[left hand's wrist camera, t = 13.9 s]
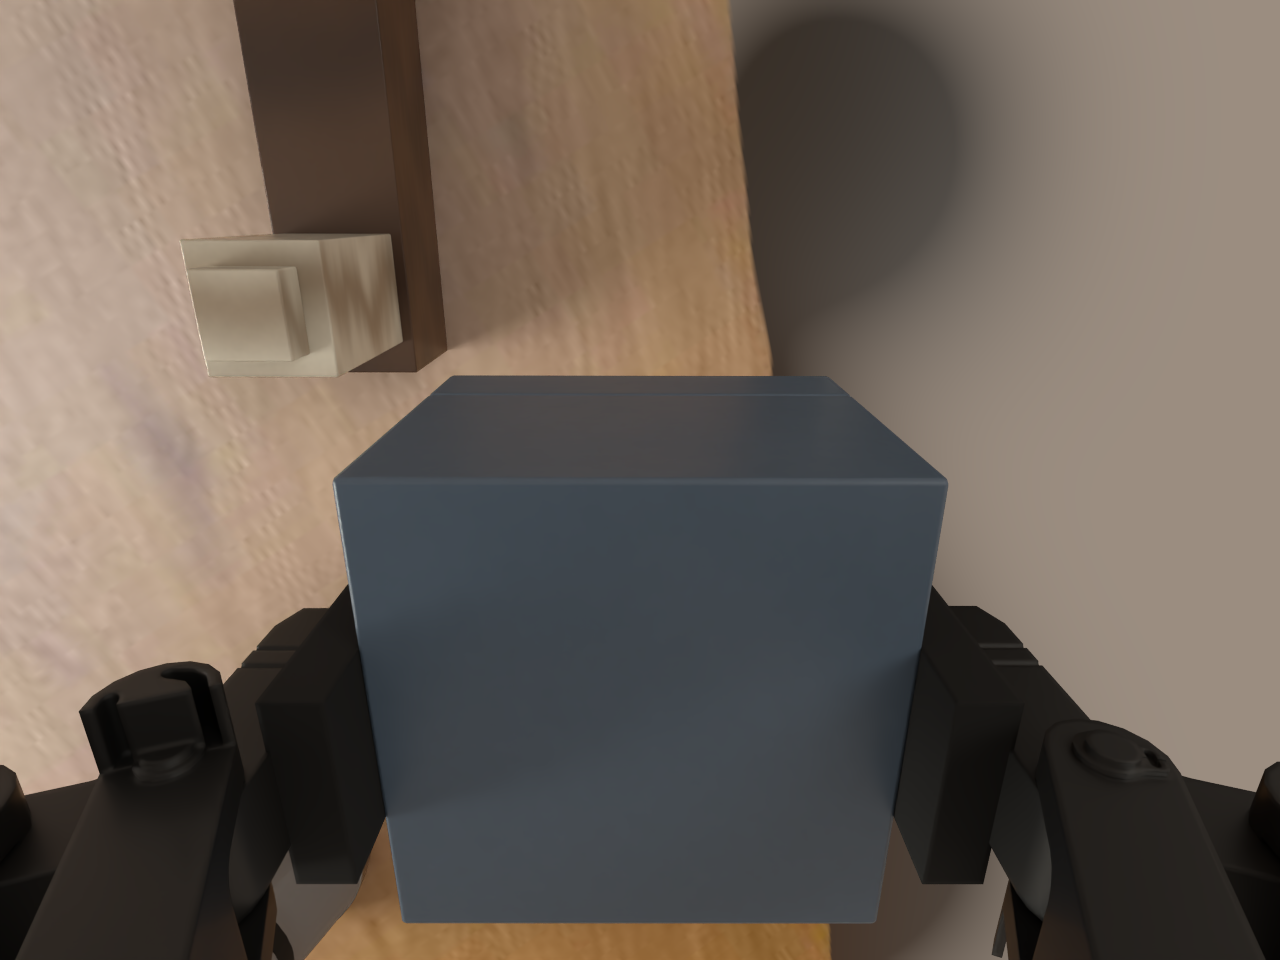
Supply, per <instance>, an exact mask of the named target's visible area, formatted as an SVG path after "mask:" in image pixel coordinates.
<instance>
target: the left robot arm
mask: <svg viewBox="0 0 1280 960" xmlns="http://www.w3.org/2000/svg"><path fill="white" fill-rule="evenodd" d="M79 714H80V717H81V720H82V723H83V725H84V728H85V731H86V734H87V737H88V740H89V743H90V746H91V749H92V752H93V755H94V758H95V761H96V764H97V767H98V770H99V773H100V775H99V777H98V779H96V780H93V781H89V782H85V783H80V784H75V785H71V786H66V787H61V788H57V789H52V790H48V791H43V792H38V793H34V794H29V795H24V793H23V791H22V788H21V786H20V783H19V781H18V778H17V775H16V773H15V772H13V771H12V770H10V769H9V768H7V767H6V766H4V765H0V960H304V959H305V958H306V957H307V956H308V954H309V953H310V952H311V951H312V950H313V949H314V947H315V946H316V945H317V944H318V943H319V941H320V940H321V939H322V938H323V937H324V936H325V934H326V933H327V932H328V931H329V929H330V928H331V927H332V926H333V924H334V923H335V922H336V921H337V920H338V919H339V918H340V917H341V916H342V915H343V913H344V912H345V911H346V910H347V909H348V908H349V906H350V905H351V904H352V902H353V901H354V899H355V897H356V895H357V893H358V890H359V888H360V885H361V883H362V881H363V878H364V876H365V873H366V871H367V867H368V863H369V855H370V853H371V850H372V848H373V845H374V843H375V841H376V838H377V836H378V834H379V831H380V829H381V826H382V824H383V822H384V819H385V817H386V815H385V809H384V802H383V796H382V790H381V784H380V777H379V771H378V765H377V759H376V752H375V746H374V740H373V734H372V727H371V721H370V715H369V709H368V702H367V696H366V690H365V684H364V677H363V671H362V665H361V659H360V652H359V646H358V640H357V633H356V627H355V621H354V615H353V608H352V602H351V596H350V590H349V584H348V585H347V586H346V587H345V589H344V590H343V591H342V593H341V594H340V595H339V596H338V598H337V599H336V600H335V601H334V603H333V604H332V605H331V607H330V608H303V609H302V610H300V611H298V612H297V613H295V614H294V615H292V616H290V617H289V618H287V619H285V620H284V621H282V622H281V623H279V624H277V625H276V626H274V628H273V629H272V630H271V631H270V632H269V633H268V634H267V636H266V637H265V638H264V639H263V640H262V641H261V642H260V643H259V645H258V646H257V650H256V651H252V653H251V654H250V655H249V656H248V657H247V658H246V659H245V660H244V662H243V663H242V667H241V668H237V670H236V671H235V672H234V673H233V674H232V675H231V676H230V677H229V679H228V680H227V681H226V682H225V683H224V684H223V683H222V679H221V675H220V672H219V671H217V670H216V669H215V668H213V667H212V666H211V665H209V664H204V663H197V662H191V661H189V662H177V663H166V664H162V665H159V666H155V667H151V668H147V669H144V670H140V671H137V672H135V673H133V674H131V675H128V676H126V677H124V678H121V679H119V680H117V681H115V682H113V683H111V684H110V685H108V686H107V687H105V688H104V689H102V690H101V691H99V692H98V693H96V694H95V695H93V696H92V697H91V698H90V699H89V701H88V702H87V703H86V704H85V705H84V706H83V707H82V709H81V710H80V711H79ZM894 818H895V821H896V823H897V825H898V828H899V830H900V832H901V835H902V837H903V839H904V842H905V844H906V847H907V849H908V851H909V854H910V856H911V859H912V861H913V863H914V866H915V868H916V870H917V873H918V875H919V878H920V880H921V882H922V884H983V882H984V878H985V873H986V869H987V865H988V861H989V856H990V852H991V848H992V849H993V851H994V853H995V855H996V857H997V858H998V860H999V862H1000V864H1001V865H1002V867H1003V869H1004V871H1005V873H1006V875H1007V876H1008V878H1009V881H1008V885H1007V890H1006V893H1005V898H1004V902H1003V906H1002V910H1001V914H1000V918H999V922H998V926H997V930H996V934H995V938H994V944H993V950H992V955H994V956H997V957H1001V958H1002V955H1003V951H1004V947H1005V944H1006V942H1007V950H1008V959H1009V960H1280V762H1276V763H1274V764H1273V765H1271V766H1270V767H1268V768H1267V769H1265V771H1264V773H1263V776H1262V779H1261V781H1260V784H1259V786H1258V789H1257V791H1256V792H1252V791H1247V790H1243V789H1238V788H1233V787H1228V786H1224V785H1219V784H1215V783H1210V782H1205V781H1201V780H1196V779H1191V778H1188V777H1184V776H1182V775H1181V773H1180V772H1179V771H1178V769H1177V768H1176V766H1175V765H1174V764H1173V762H1172V761H1171V760H1170V758H1169V757H1168V756H1167V755H1166V754H1164V753H1163V752H1162V751H1160V750H1159V749H1158V748H1156V747H1155V746H1154V745H1153V744H1151V743H1150V742H1149V741H1147V740H1145V739H1143V738H1141V737H1139V736H1137V735H1135V734H1133V733H1131V732H1129V731H1127V730H1125V729H1123V728H1120V727H1117V726H1113V725H1110V724H1107V723H1103V722H1100V721H1095V720H1090V719H1089V718H1088V717H1087V715H1086V714H1085V713H1084V712H1083V711H1082V710H1081V709H1080V707H1079V706H1078V705H1077V704H1076V703H1075V702H1074V701H1073V700H1072V699H1071V697H1070V696H1069V695H1068V694H1067V693H1066V692H1065V691H1064V690H1063V688H1062V687H1061V686H1060V685H1059V684H1058V683H1057V682H1056V680H1055V679H1054V678H1053V677H1052V676H1051V675H1050V674H1049V673H1048V671H1047V670H1046V669H1045V668H1044V667H1043V666H1039V664H1038V660H1037V659H1036V658H1035V657H1034V656H1033V655H1032V653H1031V652H1030V651H1029V650H1028V649H1027V648H1023V643H1022V642H1021V641H1020V640H1019V639H1018V638H1017V637H1016V636H1015V634H1014V633H1013V632H1012V631H1011V630H1010V629H1009V628H1008V626H1007V625H1006V624H1005V623H1003V622H1001V621H1000V620H998V619H997V618H995V617H993V616H992V615H990V614H989V613H987V612H985V611H984V610H982V609H980V608H979V607H977V606H948V605H947V603H946V602H945V601H944V600H943V598H942V597H941V596H940V594H939V593H938V592H937V591H936V589H935V588H934V587H933V586H932V587H931V593H930V599H929V605H928V611H927V617H926V623H925V629H924V635H923V641H922V647H921V653H920V659H919V665H918V671H917V677H916V683H915V689H914V695H913V701H912V707H911V713H910V720H909V726H908V732H907V738H906V744H905V750H904V756H903V762H902V768H901V774H900V780H899V786H898V792H897V798H896V804H895V810H894Z"/></svg>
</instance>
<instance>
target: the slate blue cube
mask: <svg viewBox="0 0 1280 960" xmlns="http://www.w3.org/2000/svg"><path fill="white" fill-rule="evenodd" d="M333 490H334V496H335V502H336V508H337V515H338V521H339V527H340V533H341V540H342V546H343V552H344V558H345V565H346V571H347V577H348V583H349V590H350V596H351V602H352V608H353V615H354V621H355V627H356V633H357V640H358V646H359V652H360V659H361V665H362V671H363V677H364V684H365V690H366V696H367V702H368V709H369V715H370V721H371V727H372V734H373V740H374V746H375V752H376V759H377V765H378V771H379V777H380V784H381V790H382V796H383V802H384V809H385V815H386V821H387V827H388V834H389V840H390V846H391V852H392V859H393V865H394V871H395V877H396V884H397V890H398V896H399V902H400V909H401V915H402V920H403V922H405V923H874V922H875V921H876V919H877V913H878V907H879V901H880V895H881V889H882V883H883V877H884V871H885V864H886V859H887V852H888V846H889V840H890V834H891V828H892V822H893V816H894V810H895V804H896V798H897V792H898V786H899V780H900V774H901V768H902V762H903V756H904V750H905V744H906V738H907V732H908V726H909V720H910V713H911V707H912V701H913V695H914V689H915V683H916V677H917V671H918V665H919V659H920V653H921V647H922V641H923V635H924V629H925V623H926V617H927V611H928V605H929V599H930V593H931V587H932V580H933V574H934V568H935V562H936V556H937V550H938V544H939V538H940V532H941V526H942V520H943V514H944V508H945V502H946V496H947V490H948V482H947V479H946V478H945V477H944V476H943V475H941V474H940V473H939V472H938V471H937V470H936V469H934V468H933V467H932V466H931V465H930V464H929V463H928V462H926V461H925V460H924V459H923V458H922V457H921V456H919V455H918V454H917V453H916V452H915V451H914V450H912V449H911V448H910V447H909V446H908V445H907V444H906V443H904V442H903V441H902V440H901V439H900V438H899V437H897V436H896V435H895V434H894V433H893V432H892V431H890V430H889V429H888V428H887V427H886V426H885V425H883V424H882V423H881V422H880V421H879V420H878V419H877V418H875V417H874V416H873V415H872V414H871V413H870V412H868V411H867V410H866V409H865V408H864V407H863V406H861V405H860V404H859V403H858V402H857V401H856V400H854V399H853V398H852V397H850V396H849V394H848V393H846V392H845V391H844V390H843V389H842V388H841V387H839V386H838V385H837V384H836V383H835V382H834V381H833V380H831V379H830V378H829V377H827V376H452V377H450V378H449V379H448V380H447V381H445V382H444V383H443V384H442V385H441V386H440V387H438V388H437V389H436V390H435V391H434V392H433V393H432V394H431V395H430V396H428V397H427V398H426V399H425V400H424V401H422V402H421V403H420V404H419V405H418V406H417V407H415V408H414V409H413V410H412V411H411V412H410V413H409V414H407V415H406V416H405V417H404V418H403V419H402V420H400V421H399V422H398V423H397V424H396V425H395V426H394V427H392V428H391V429H390V430H389V431H388V432H387V433H385V434H384V435H383V436H382V437H381V438H380V439H379V440H377V441H376V442H375V443H374V444H373V445H372V446H370V447H369V448H368V449H367V450H366V451H365V452H364V453H362V454H361V455H360V456H359V457H358V458H357V459H356V460H354V461H353V462H352V463H351V464H350V465H349V466H347V467H346V468H345V469H344V470H343V471H342V472H341V473H339V474H338V475H337V476H336V477H335V478H334V480H333Z"/></svg>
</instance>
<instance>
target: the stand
mask: <svg viewBox="0 0 1280 960" xmlns="http://www.w3.org/2000/svg"><path fill="white" fill-rule="evenodd" d="M233 2H234V7H235V13H236V19H237V25H238V31H239V37H240V43H241V49H242V55H243V60H244V66H245V72H246V78H247V84H248V90H249V96H250V102H251V108H252V113H253V119H254V125H255V131H256V137H257V143H258V149H259V155H260V161H261V166H262V172H263V178H264V184H265V190H266V196H267V202H268V208H269V214H270V220H271V225H272V231H273V234H268V235H251V236H234V237H217V238H200V239H183V240H180V246H181V250H182V255H183V260H184V264H185V269H186V275H187V280H188V285H189V289H190V294H191V299H192V303H193V308H194V313H195V317H196V322H197V327H198V331H199V336H200V341H201V345H202V350H203V355H204V359H205V362H206V367H207V372H208V376H209V377H339V376H341V375H343V374H345V373H347V372H418V371H419V370H420V369H422V368H423V367H425V366H426V365H427V364H429V363H430V362H432V361H433V360H434V359H436V358H437V357H438V356H440V355H441V354H443V353H444V352H445V351H447V342H446V332H445V321H444V310H443V299H442V289H441V278H440V267H439V257H438V246H437V235H436V224H435V214H434V203H433V192H432V181H431V171H430V160H429V149H428V139H427V128H426V117H425V106H424V96H423V85H422V74H421V63H420V53H419V42H418V31H417V20H416V10H415V0H233Z"/></svg>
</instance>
